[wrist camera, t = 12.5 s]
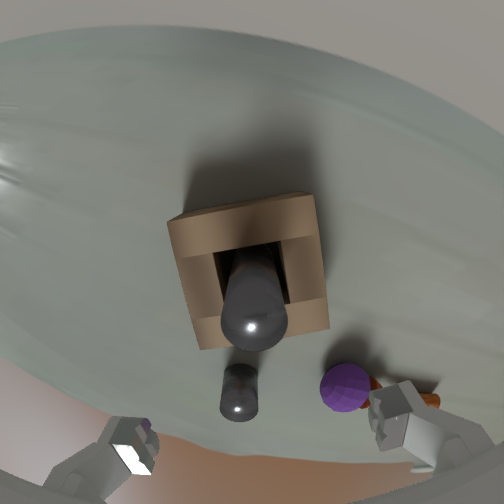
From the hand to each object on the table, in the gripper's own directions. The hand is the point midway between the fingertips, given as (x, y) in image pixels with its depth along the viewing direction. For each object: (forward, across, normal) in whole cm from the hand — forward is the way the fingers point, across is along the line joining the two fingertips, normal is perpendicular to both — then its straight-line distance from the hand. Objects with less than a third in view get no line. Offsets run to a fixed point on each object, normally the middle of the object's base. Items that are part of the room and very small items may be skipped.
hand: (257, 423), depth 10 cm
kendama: (+23, -13, +21) cm, 34 cm away
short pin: (+22, +4, +14) cm, 27 cm away
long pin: (+23, 0, 0) cm, 23 cm away
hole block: (+22, +1, 0) cm, 23 cm away
